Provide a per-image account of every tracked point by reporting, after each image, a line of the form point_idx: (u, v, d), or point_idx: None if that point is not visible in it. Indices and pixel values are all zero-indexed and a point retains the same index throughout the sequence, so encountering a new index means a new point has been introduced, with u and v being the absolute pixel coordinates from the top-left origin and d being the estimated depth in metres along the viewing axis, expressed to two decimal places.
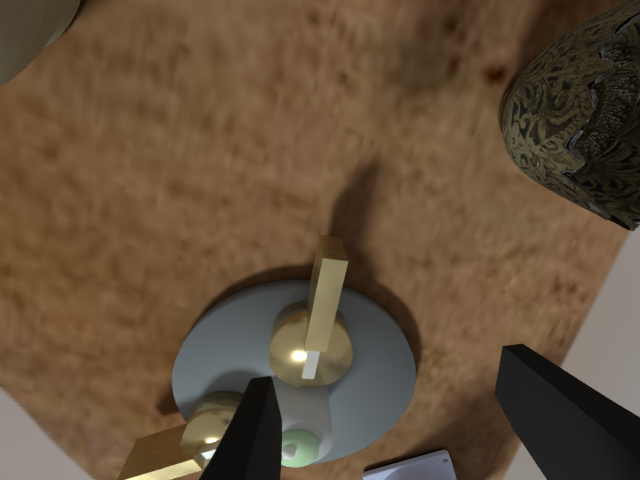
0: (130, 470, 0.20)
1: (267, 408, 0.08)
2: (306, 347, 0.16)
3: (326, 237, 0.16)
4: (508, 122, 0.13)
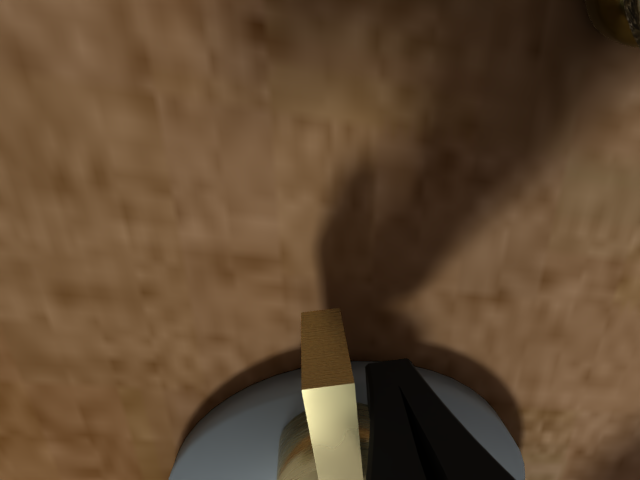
0: None
1: None
2: None
3: (312, 318, 0.09)
4: None
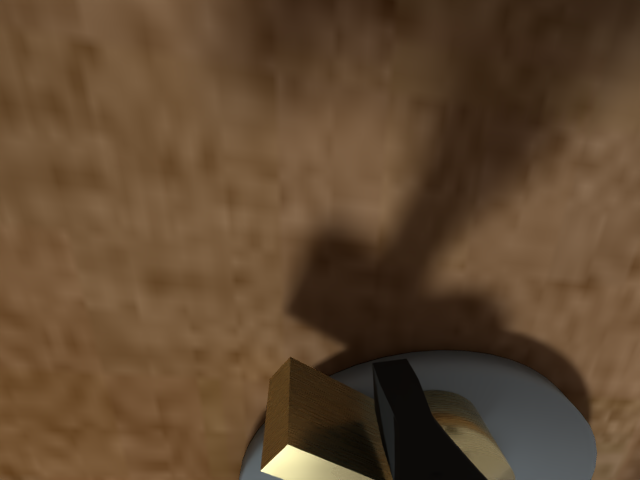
0: None
1: None
2: None
3: (274, 381, 0.10)
4: None
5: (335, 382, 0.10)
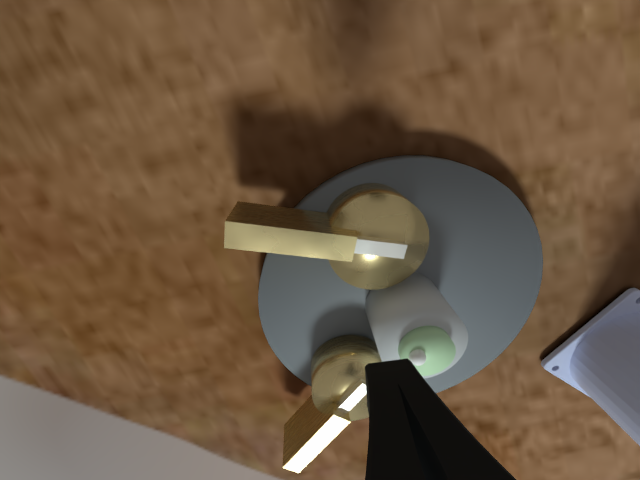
0: (289, 451, 0.19)
1: None
2: (348, 259, 0.13)
3: None
4: None
5: (275, 206, 0.15)
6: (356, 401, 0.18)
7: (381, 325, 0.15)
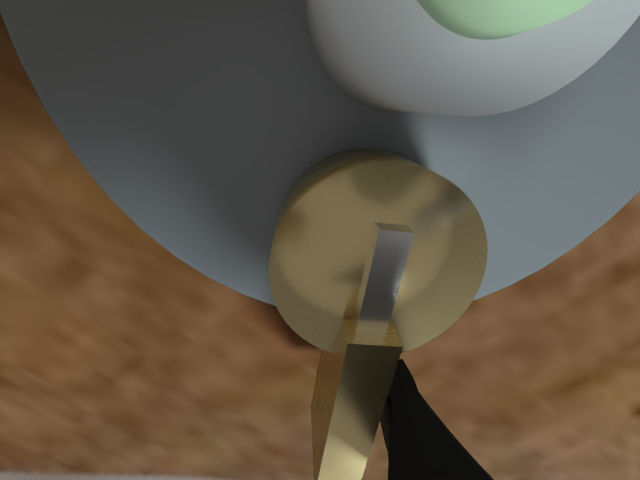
0: (316, 458, 0.09)
1: None
2: None
3: None
4: None
5: None
6: (393, 289, 0.06)
7: None
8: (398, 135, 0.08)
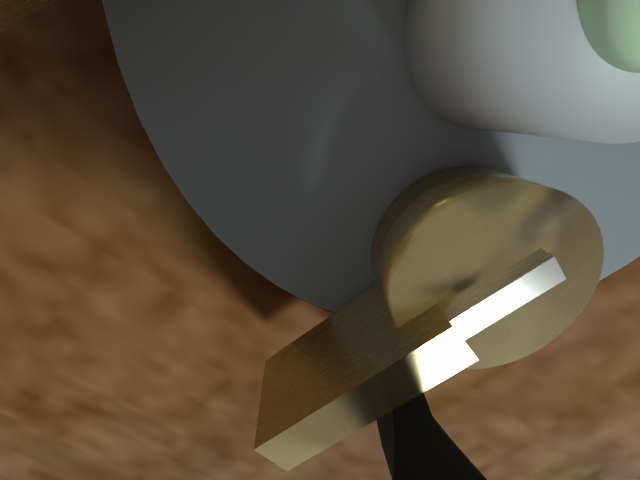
0: (279, 413, 0.08)
1: None
2: None
3: None
4: None
5: None
6: (508, 309, 0.07)
7: (470, 2, 0.04)
8: (489, 150, 0.08)
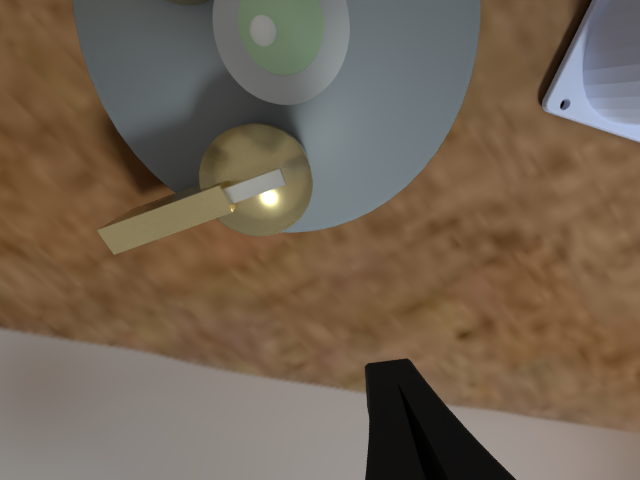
0: (120, 219, 0.13)
1: None
2: None
3: None
4: None
5: None
6: (256, 192, 0.13)
7: None
8: (284, 118, 0.14)
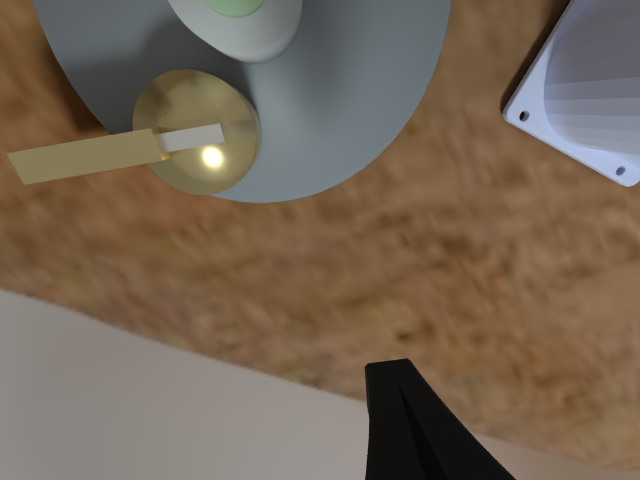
0: None
1: None
2: None
3: None
4: None
5: None
6: (192, 144, 0.12)
7: None
8: (239, 76, 0.14)
